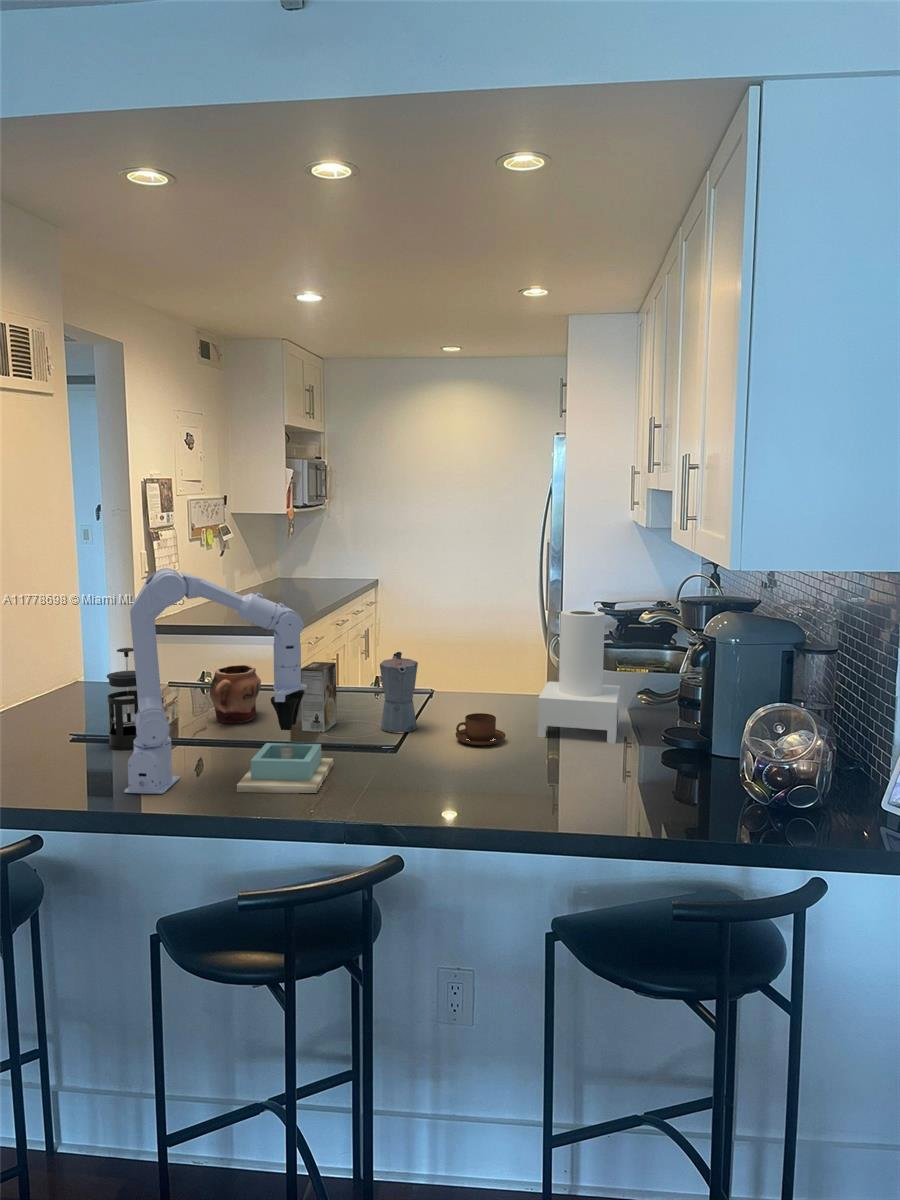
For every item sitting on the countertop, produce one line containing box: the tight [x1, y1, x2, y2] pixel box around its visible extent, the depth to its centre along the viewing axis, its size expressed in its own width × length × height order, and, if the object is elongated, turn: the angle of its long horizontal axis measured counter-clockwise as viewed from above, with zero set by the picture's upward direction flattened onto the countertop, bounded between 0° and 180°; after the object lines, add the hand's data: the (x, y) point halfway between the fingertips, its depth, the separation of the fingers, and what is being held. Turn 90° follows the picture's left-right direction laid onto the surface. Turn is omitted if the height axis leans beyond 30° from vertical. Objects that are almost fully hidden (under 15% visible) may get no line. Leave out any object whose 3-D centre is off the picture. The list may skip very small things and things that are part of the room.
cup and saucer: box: [455, 712, 506, 747], centre depth 206 cm, size 12×12×6 cm
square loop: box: [250, 742, 322, 781], centre depth 179 cm, size 12×12×4 cm
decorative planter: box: [209, 664, 262, 724], centre depth 222 cm, size 20×12×14 cm, turn 173°
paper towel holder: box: [537, 609, 621, 744], centre depth 215 cm, size 19×19×30 cm
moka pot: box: [379, 651, 419, 734], centre depth 216 cm, size 10×15×20 cm, turn 15°
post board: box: [236, 746, 334, 794], centre depth 179 cm, size 18×16×6 cm
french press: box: [106, 647, 138, 751], centre depth 201 cm, size 12×9×23 cm
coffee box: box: [300, 661, 338, 733], centre depth 217 cm, size 9×6×16 cm
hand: (288, 727), depth 184 cm, fingers open, 4 cm apart
